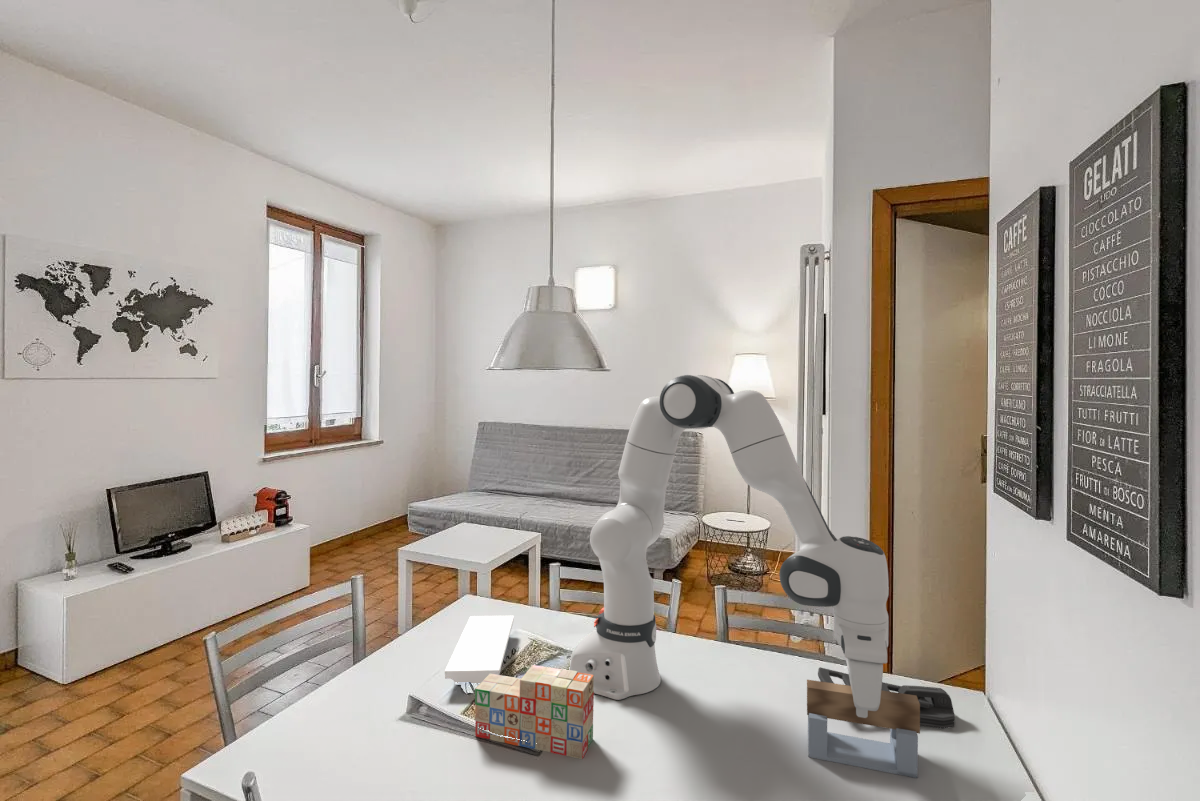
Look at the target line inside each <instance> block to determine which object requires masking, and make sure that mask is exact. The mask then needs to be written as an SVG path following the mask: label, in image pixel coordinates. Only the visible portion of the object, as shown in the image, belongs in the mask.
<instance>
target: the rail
mask: <svg viewBox="0 0 1200 801" xmlns="http://www.w3.org/2000/svg"><path fill="white" fill-rule="evenodd" d="M834 683H835V682H834ZM834 683H828V682H821V681H820V680H813V679H806V715H807V716H808V715H809V713H812V714H818V715H823V716H827V719H829V720H834V721H835V720H836V721H840V722H841V721H843V722H849V723H853V724H861V725H865V726H871V727H879V728H883V729H889V730H890V729H895V730H896V728H899V729H905V730H911V731H916V732H917V734H921V726H920V703H919V701H918V698H917V696H916V695H910V694H903V693H898V692H895V691H890V690H889V691H890V692H889V691H882V690H881V699H880V705H879V708H878V710H877V711H870V710H868V716H867V718H862V717H858V716H857V715H856V707H855V705H854V701H853V695H852V689H851V686H848V685H845V684H840V683H835V684H834Z"/></svg>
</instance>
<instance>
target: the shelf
mask: <svg viewBox="0 0 1200 801" xmlns="http://www.w3.org/2000/svg"><path fill="white" fill-rule="evenodd" d="M514 618H515V615H470V616H469V618H468V620H467V623H466V624H465V626H464V629H463V631H462V633H461V635H460V637H459V640H458V641H457V644H456V646H455V647H454V650H453V653H452V654H451V657H450V658H449V661H448V663H447V665H446V667H445V669H444V678H445V679H447V680H448V679H449V680H452V681H453V682H454V683H455V682H457V683H458V682H471V683H481V682H483V680H484V679H485V678H486V677H487V676H488V675H489V674H496V675H501V674H500V673H501V669H502V665H503V662H504V658H505V655H506V651H507V647H508V643H509V639H510V636H511V631H512V629H513V625H514Z"/></svg>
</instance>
